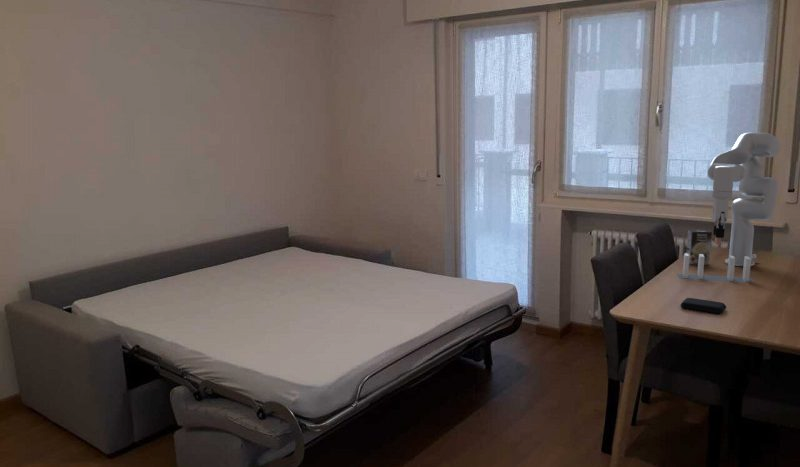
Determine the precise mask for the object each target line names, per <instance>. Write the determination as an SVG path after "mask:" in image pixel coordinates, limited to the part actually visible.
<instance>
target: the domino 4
mask: <svg viewBox="0 0 800 467" xmlns="http://www.w3.org/2000/svg"><path fill="white" fill-rule="evenodd" d="M750 265H751V259H750V258H749V257H748V256H744V266H742V267H743V268H742V277H741V278H742V279H743V280H744V281H745V282H749V278H750V273H751V266H750Z"/></svg>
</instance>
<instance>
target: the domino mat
mask: <svg viewBox="0 0 800 467" xmlns="http://www.w3.org/2000/svg"><path fill="white" fill-rule="evenodd" d="M676 276H677V277H678V279H681V280H682V279H683V280H695V281H696V280H699V281H711V282H712V281H713V282H717V281H718V282H730V283H731V282H732V283H745V284H746V283H748V284H756V282H755V281H754V279H752V278H751V277H749V282H745V281H744V280H743V279H742V277H739V276H734V278H733V281H729V280H728V278H727V276H721V275H720V276H719V275H704V274H703V279H699V278H698V276H697V274H690V273H688V278H684V277H683V273H676Z"/></svg>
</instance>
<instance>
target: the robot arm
mask: <svg viewBox="0 0 800 467" xmlns="http://www.w3.org/2000/svg"><path fill="white" fill-rule="evenodd" d="M780 151H781V142H780V140H779V138H778V137H776V136H775V135H774V134H772V133H769V132H744V133H742V134H740V136H738V138H737V139H736V142H734V145H733V146H732V148H730V149H729V150H727V151H724V152H722V153H720V154H718V155H716V156H715V157H714V158H713V160H712V161H711V163H710V165H709V167H708V169H707V177H708V178H709V179H710V180H711V181H713V184H712V194H711V196H712V197H711V198H712V199H713V201H712V202H713V203H712V210H711V219H712V221H714V226H713V231H712V232H713V233H712V235H713V236H715V235H716V236H715V237H716V238H721V239H724V238H725V228H726V227H725V226H726V222H727V221H728V217H729V216H728V215H729V205H730V202H729V201H730V200H731V199H733V188H734V183H737V182H739V184H738V192H739V194H740V195H741V196H744V197H745V198H744V197H743V198H742V197H741V198H739V197H738V198H735V199H734V200H732V202H731V207H730V212H731V230H730V240H729V241H730V242H729V250H728V251H729V252H728V257H729V256H734V257H735V267H743V266H744V256H748V257H749V258H750V259H751V265H750V267H753V266H755V263H756V262H755V261H754V260H753V259H756V258H757V254H755V253H753V246H754V245H753V243H754V237H755V234H754V233H755V226H754V225H753V223H752V221H751V220H757V221H770V220H771V219H772V218H773V216H774V213H775V212H774V211H775V206H776V202H777V198H778V197H777V196H778V192H779V185H778V184H779V183H778V181H777V180H776V178H775V177H769V176H767V177H766V176H763V172H764V166H763V164H762V162H761V161H760V159H758V158H757V157H761V158H762V157H764V158H774V157H777V156H778V155H779V153H780ZM746 197H753V198H746ZM758 198H759V199H758ZM760 198H763V199H760ZM719 220H721V221H719ZM716 223H717V228H716ZM715 237H714V238H715ZM728 261H729V258H726V259H725V260H724V263H725V264H727V265H728Z"/></svg>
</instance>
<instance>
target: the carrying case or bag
mask: <svg viewBox="0 0 800 467" xmlns="http://www.w3.org/2000/svg"><path fill="white" fill-rule="evenodd" d="M680 307H681V309H682V310H686V311H692V312H698V313H704V314H711V315H715V316H716V315H720V316H721V315H722V314H723V313H724V312H725V311H726V309H727V305H725V303H724V302H720V301H715V300H714V301H713V300H709V299H708V300H707V299H701V298H694V297H687V298H685V299H684V300H683V301H682V302H681V303H680Z"/></svg>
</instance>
